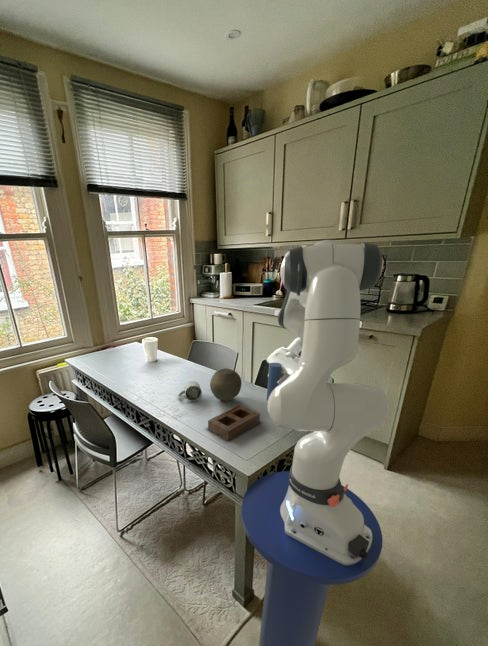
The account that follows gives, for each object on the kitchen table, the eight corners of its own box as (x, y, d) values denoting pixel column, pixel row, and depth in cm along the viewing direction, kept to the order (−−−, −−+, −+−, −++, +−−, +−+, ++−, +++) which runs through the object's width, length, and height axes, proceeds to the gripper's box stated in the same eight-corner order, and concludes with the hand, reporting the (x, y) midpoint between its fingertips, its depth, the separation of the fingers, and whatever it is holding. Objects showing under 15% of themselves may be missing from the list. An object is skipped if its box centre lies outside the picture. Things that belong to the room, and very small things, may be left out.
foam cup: (162, 359, 195) (160, 338, 189) (151, 363, 188) (150, 342, 183) (151, 356, 200) (149, 336, 195) (140, 360, 194) (138, 340, 189)
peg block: (259, 422, 126) (260, 413, 124) (227, 440, 115) (227, 431, 113) (239, 412, 133) (239, 404, 131) (208, 429, 122) (208, 420, 121)
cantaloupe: (205, 395, 148) (205, 366, 142) (234, 391, 151) (234, 362, 145) (215, 410, 136) (215, 378, 129) (246, 405, 139) (247, 373, 132)
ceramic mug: (199, 392, 151) (199, 378, 148) (202, 400, 144) (201, 385, 140) (177, 394, 150) (176, 380, 147) (179, 402, 143) (178, 387, 140)
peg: (280, 399, 125) (283, 364, 119) (273, 403, 123) (276, 367, 116) (271, 396, 128) (273, 361, 122) (264, 399, 126) (266, 364, 120)
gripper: (277, 340, 128) (255, 366, 129) (310, 357, 110) (283, 386, 112) (286, 349, 131) (263, 375, 132) (319, 366, 113) (293, 395, 115)
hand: (273, 380), depth 122 cm, fingers closed on peg, 4 cm apart
